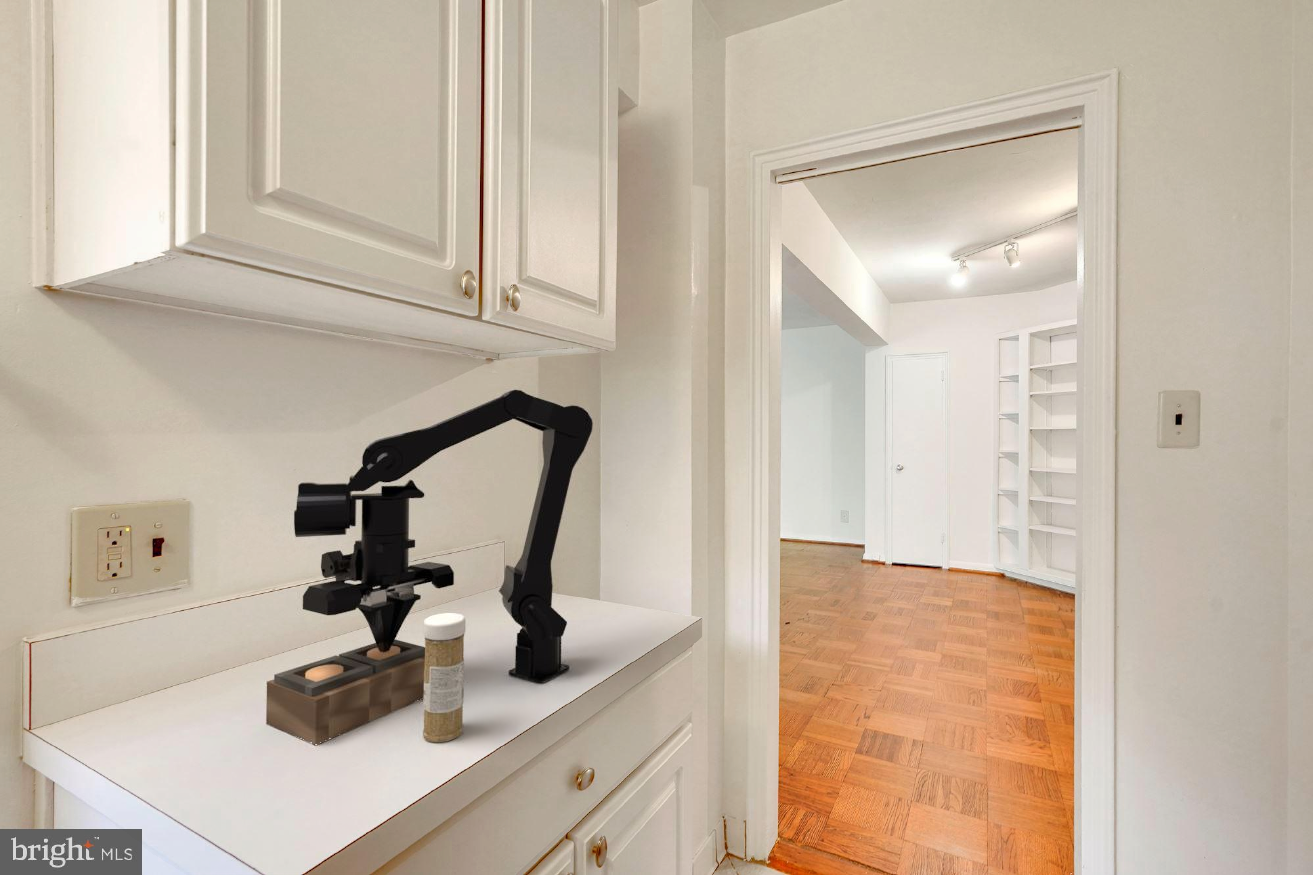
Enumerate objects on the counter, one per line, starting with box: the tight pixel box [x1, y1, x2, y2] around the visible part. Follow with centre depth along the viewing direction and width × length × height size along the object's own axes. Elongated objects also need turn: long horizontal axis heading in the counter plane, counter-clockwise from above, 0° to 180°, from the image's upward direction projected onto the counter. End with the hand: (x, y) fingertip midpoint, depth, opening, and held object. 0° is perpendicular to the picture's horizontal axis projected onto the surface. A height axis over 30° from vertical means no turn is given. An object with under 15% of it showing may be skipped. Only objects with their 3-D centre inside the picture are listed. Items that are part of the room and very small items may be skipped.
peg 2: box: [367, 646, 400, 660], centre depth 80 cm, size 4×4×6 cm
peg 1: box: [305, 665, 343, 682], centre depth 73 cm, size 4×4×6 cm
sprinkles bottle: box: [422, 612, 466, 743], centre depth 70 cm, size 5×5×14 cm
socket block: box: [265, 638, 425, 745], centre depth 76 cm, size 16×10×6 cm, turn 150°
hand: (384, 651), depth 80 cm, fingers closed, pressing on peg 2
